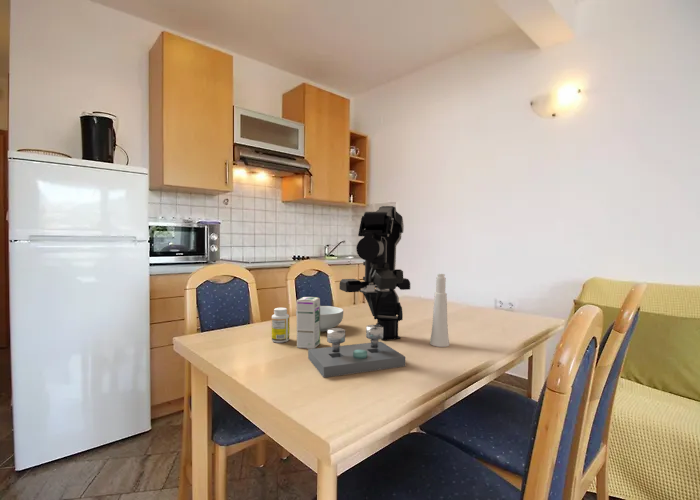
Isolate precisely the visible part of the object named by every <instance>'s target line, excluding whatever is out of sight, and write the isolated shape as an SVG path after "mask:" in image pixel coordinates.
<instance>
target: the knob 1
mask: <svg viewBox="0 0 700 500" xmlns="http://www.w3.org/2000/svg"><path fill="white" fill-rule="evenodd" d="M326 333H327V334H326V336H327V337H326V341H327V343H329V344H332V345H331V347H332V352H335V353H337V352H340V346H341V344H343V343H345V342H346V329H344V328H341V327H333V328H330V329H328V330H327V331H326Z"/></svg>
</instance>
